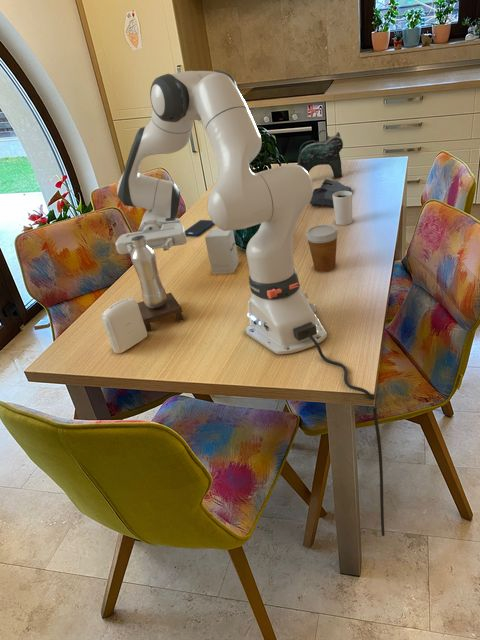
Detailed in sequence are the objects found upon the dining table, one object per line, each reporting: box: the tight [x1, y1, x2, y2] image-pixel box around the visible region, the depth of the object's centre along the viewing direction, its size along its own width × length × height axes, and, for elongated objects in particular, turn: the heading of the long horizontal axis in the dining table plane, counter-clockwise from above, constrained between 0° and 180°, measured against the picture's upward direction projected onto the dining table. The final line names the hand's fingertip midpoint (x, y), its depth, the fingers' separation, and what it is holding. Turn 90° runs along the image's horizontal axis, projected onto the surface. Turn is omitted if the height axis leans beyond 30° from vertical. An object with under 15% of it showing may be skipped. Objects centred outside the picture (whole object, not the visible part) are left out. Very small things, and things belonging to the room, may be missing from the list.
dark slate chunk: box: [309, 178, 352, 208], centre depth 219 cm, size 15×22×5 cm
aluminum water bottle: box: [130, 235, 167, 308], centre depth 151 cm, size 6×7×20 cm
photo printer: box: [100, 297, 148, 354], centre depth 146 cm, size 10×4×12 cm, turn 139°
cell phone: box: [184, 219, 215, 237], centre depth 213 cm, size 7×14×1 cm, turn 153°
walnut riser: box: [137, 292, 184, 333], centre depth 157 cm, size 11×11×4 cm
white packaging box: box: [204, 227, 240, 275], centre depth 176 cm, size 7×7×13 cm
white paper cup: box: [333, 191, 353, 226], centre depth 196 cm, size 7×7×10 cm
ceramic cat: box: [296, 129, 344, 179], centre depth 237 cm, size 20×6×20 cm, turn 94°
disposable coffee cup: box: [305, 224, 339, 273], centre depth 167 cm, size 10×10×12 cm
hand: (148, 250), depth 157 cm, fingers open, 8 cm apart
